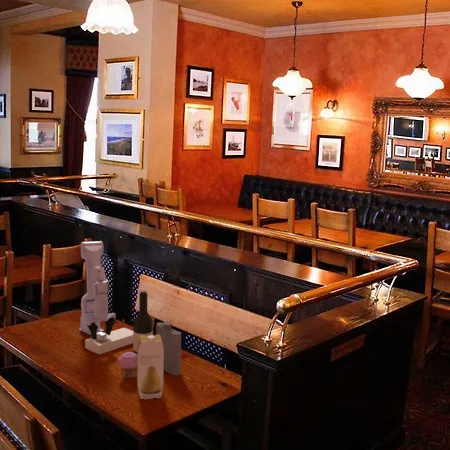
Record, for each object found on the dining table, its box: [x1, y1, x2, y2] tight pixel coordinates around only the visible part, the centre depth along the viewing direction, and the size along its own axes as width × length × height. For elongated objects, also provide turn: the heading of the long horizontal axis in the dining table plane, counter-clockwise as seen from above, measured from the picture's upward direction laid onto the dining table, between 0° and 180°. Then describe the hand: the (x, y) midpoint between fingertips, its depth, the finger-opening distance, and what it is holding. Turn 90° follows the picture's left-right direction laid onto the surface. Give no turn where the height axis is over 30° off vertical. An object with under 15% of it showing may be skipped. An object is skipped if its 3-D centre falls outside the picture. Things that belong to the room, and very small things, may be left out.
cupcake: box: [117, 351, 137, 380], centre depth 240 cm, size 9×9×10 cm
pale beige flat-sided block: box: [84, 327, 133, 355], centre depth 272 cm, size 10×22×4 cm, turn 139°
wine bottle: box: [132, 290, 154, 354], centre depth 256 cm, size 8×8×30 cm
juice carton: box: [136, 334, 164, 400], centre depth 223 cm, size 9×8×24 cm
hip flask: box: [155, 321, 182, 376], centre depth 248 cm, size 16×4×20 cm, turn 39°
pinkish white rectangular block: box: [96, 331, 107, 343], centre depth 267 cm, size 4×2×7 cm, turn 48°
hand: (101, 336), depth 267 cm, fingers open, 7 cm apart
